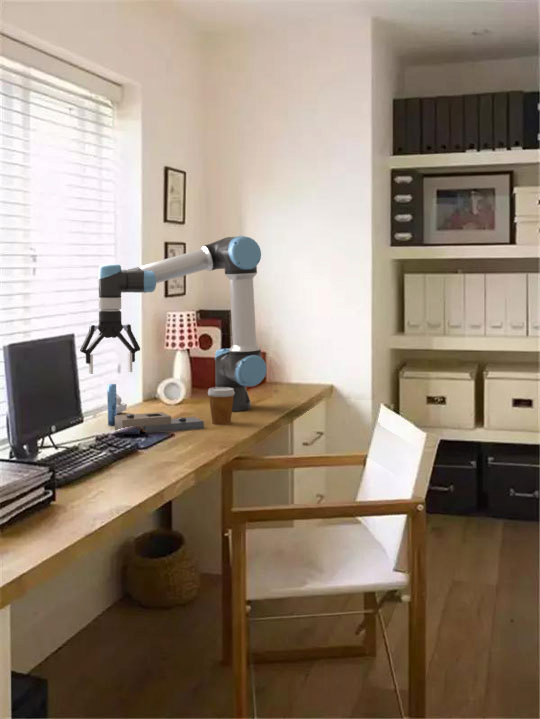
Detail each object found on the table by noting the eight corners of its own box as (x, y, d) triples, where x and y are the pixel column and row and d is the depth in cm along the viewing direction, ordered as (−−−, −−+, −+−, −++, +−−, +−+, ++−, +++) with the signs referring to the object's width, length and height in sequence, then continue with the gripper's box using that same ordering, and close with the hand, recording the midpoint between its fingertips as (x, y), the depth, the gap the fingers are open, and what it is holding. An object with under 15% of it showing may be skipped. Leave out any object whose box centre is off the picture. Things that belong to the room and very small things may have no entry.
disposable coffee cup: (239, 421, 306) (239, 387, 304) (229, 426, 297) (228, 391, 295) (214, 420, 309) (213, 386, 307) (203, 424, 300) (203, 390, 298)
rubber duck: (112, 412, 325) (112, 391, 324) (129, 412, 324) (129, 391, 323) (107, 414, 320) (106, 393, 319) (124, 415, 318) (123, 393, 317)
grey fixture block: (194, 423, 301) (194, 407, 300) (203, 428, 293) (203, 411, 292) (115, 430, 289) (114, 413, 289) (122, 435, 281) (122, 417, 280)
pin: (115, 423, 301) (114, 383, 300) (117, 425, 299) (117, 384, 297) (107, 424, 300) (106, 384, 299) (109, 426, 297) (108, 385, 296)
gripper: (142, 309, 304) (142, 369, 306) (70, 310, 293) (71, 372, 295) (149, 310, 297) (149, 372, 299) (75, 311, 286) (76, 375, 289)
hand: (110, 372), depth 297 cm, fingers open, 13 cm apart
